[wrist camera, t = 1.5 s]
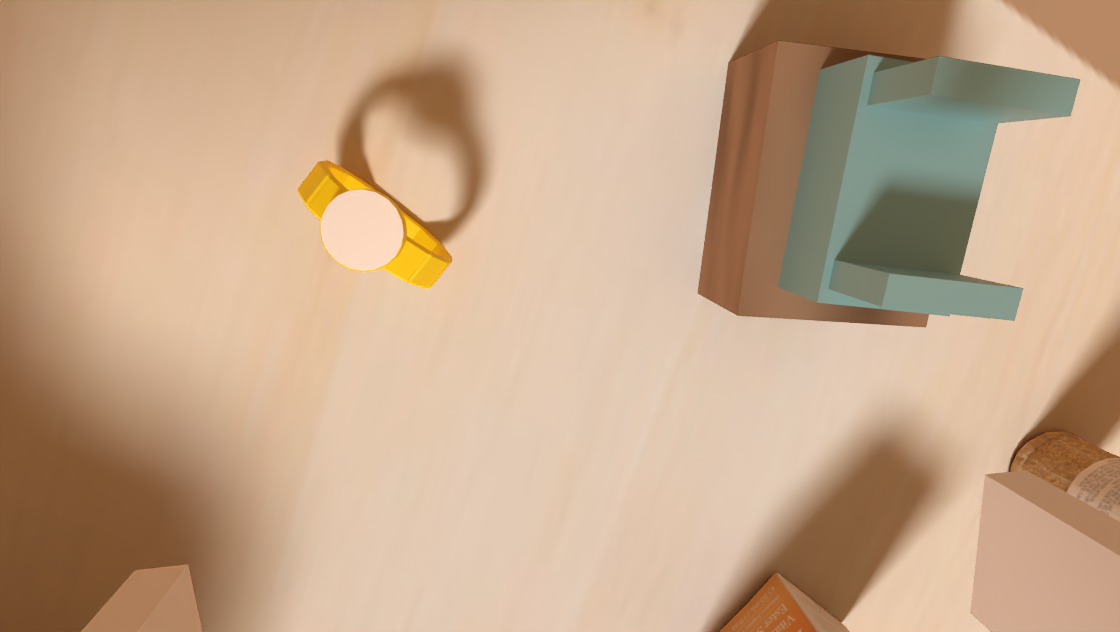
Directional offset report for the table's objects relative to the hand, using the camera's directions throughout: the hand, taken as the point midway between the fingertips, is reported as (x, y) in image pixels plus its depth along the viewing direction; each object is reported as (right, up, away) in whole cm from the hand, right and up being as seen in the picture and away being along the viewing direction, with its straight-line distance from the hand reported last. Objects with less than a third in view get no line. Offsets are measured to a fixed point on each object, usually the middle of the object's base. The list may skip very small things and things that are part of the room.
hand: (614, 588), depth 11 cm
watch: (-8, +9, +17) cm, 20 cm away
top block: (+10, +9, +14) cm, 20 cm away
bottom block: (+10, +10, +19) cm, 23 cm away
